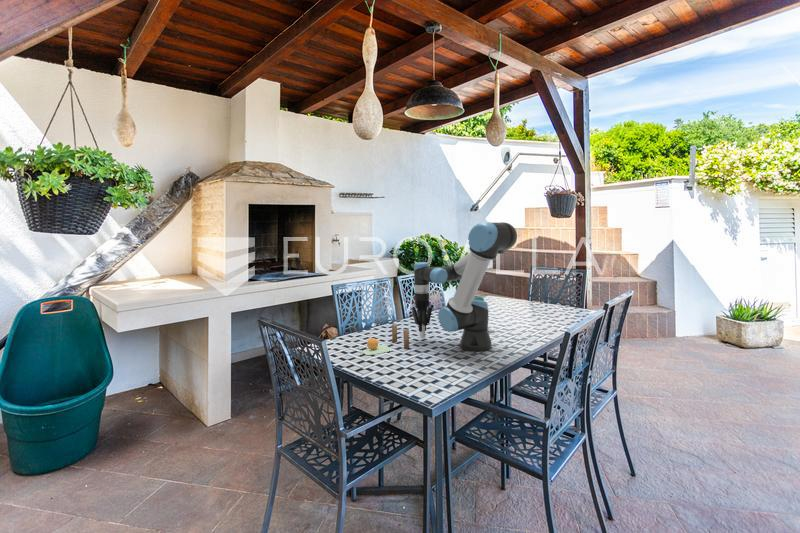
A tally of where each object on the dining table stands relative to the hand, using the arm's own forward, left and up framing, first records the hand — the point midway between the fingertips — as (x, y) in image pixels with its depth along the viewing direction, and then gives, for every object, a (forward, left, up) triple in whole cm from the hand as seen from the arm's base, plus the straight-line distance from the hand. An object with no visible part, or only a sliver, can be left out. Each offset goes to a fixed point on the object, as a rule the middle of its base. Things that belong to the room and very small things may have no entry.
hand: (422, 337), depth 198 cm
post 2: (-6, +13, -2) cm, 15 cm away
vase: (0, -37, -2) cm, 37 cm away
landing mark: (0, +27, -2) cm, 27 cm away
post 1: (+6, +13, -2) cm, 15 cm away
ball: (0, +28, +1) cm, 28 cm away
